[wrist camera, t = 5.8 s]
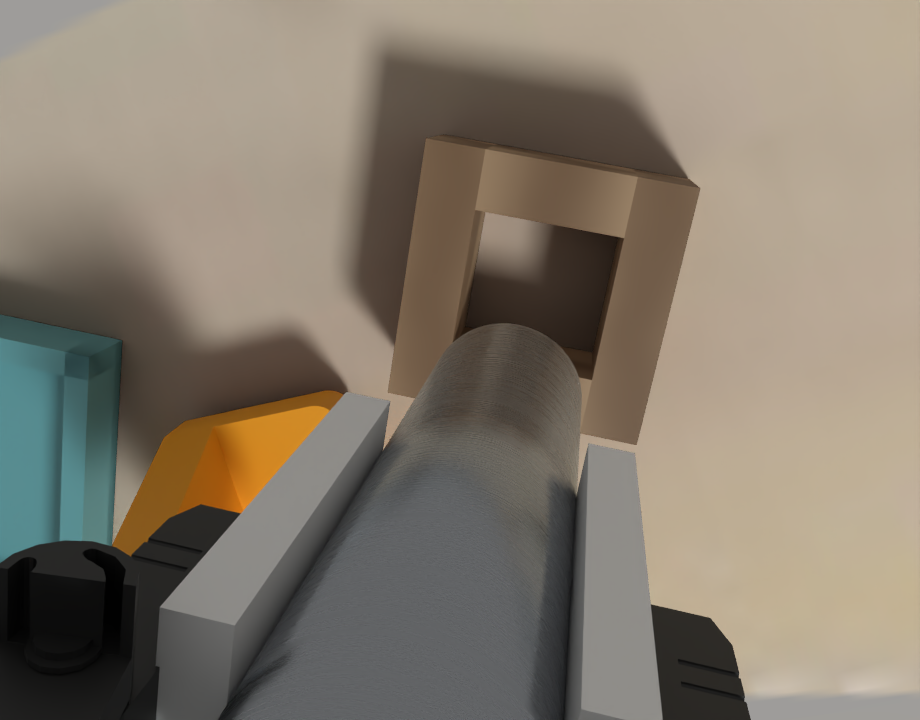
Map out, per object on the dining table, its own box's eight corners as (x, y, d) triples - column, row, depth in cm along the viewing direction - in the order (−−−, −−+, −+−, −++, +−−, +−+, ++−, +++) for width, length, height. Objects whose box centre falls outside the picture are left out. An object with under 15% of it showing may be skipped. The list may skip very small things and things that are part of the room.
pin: (419, 449, 20) (81, 1111, 7) (443, 309, 19) (99, 774, 6) (564, 481, 20) (499, 1238, 7) (596, 340, 19) (592, 903, 6)
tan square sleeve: (407, 364, 35) (387, 392, 31) (443, 134, 32) (425, 137, 29) (632, 411, 34) (636, 444, 31) (689, 179, 31) (700, 188, 28)
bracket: (423, 610, 38) (350, 828, 27) (271, 633, 39) (140, 850, 28) (353, 379, 35) (238, 511, 24) (194, 414, 37) (14, 553, 26)
